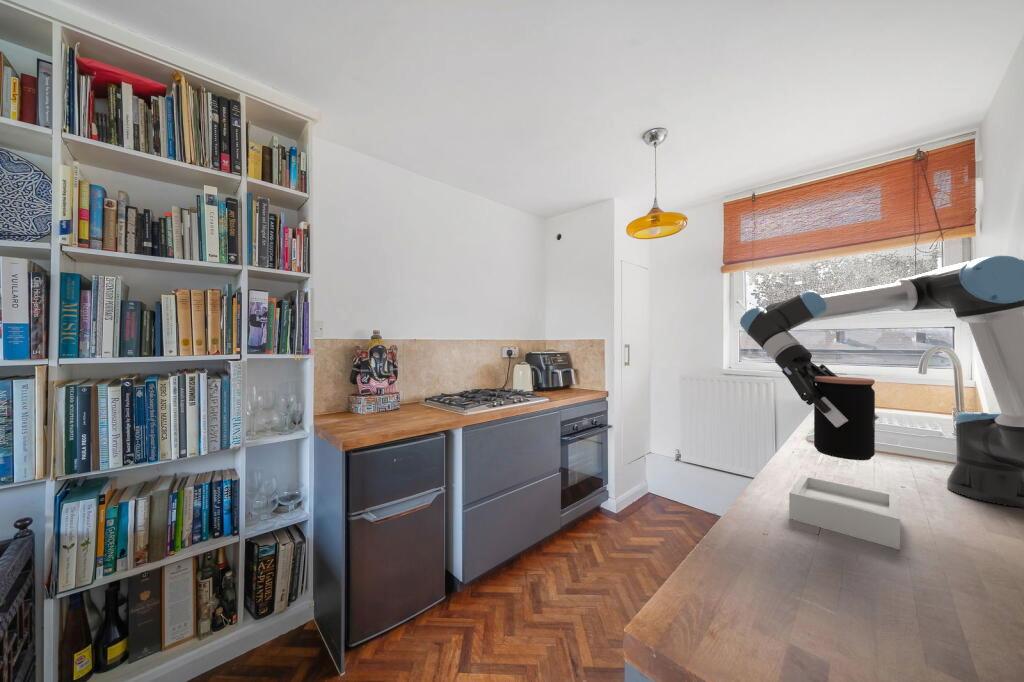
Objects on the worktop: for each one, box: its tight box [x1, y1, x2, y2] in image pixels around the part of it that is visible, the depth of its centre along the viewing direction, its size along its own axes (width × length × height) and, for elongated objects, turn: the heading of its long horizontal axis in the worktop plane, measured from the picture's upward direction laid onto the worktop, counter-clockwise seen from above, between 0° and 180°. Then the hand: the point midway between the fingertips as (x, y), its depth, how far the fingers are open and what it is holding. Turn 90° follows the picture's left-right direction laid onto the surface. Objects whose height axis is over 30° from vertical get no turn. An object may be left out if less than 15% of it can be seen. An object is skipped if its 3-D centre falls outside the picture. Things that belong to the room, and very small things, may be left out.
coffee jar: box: [813, 376, 876, 461], centre depth 87 cm, size 11×11×18 cm
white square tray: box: [788, 474, 901, 550], centre depth 86 cm, size 18×18×6 cm
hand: (858, 422), depth 84 cm, fingers closed on coffee jar, 11 cm apart
